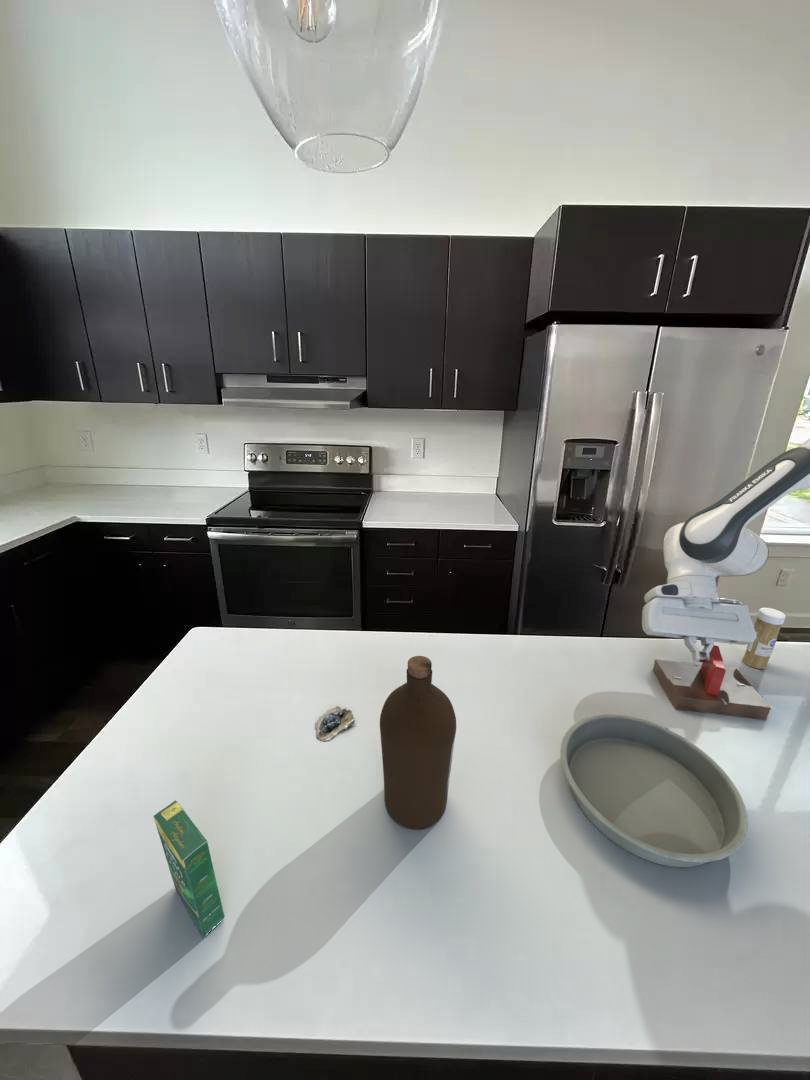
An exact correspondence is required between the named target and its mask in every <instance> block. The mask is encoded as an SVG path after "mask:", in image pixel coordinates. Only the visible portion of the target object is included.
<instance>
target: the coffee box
mask: <svg viewBox="0 0 810 1080" xmlns="http://www.w3.org/2000/svg"><path fill="white" fill-rule="evenodd" d="M153 820H154V824H155V826H156V830H157V833H158V835H159V836H158V837H159V840H160V843H161V846H162V849H163V852H164V856H165V859H166V862H167V866H168V869H169V872H170V875H171V879H172V882H173V886H174V888H176V889H175V891H176V893H177V892H178V893H177V895H178V897H179V898H180V900H181V902H182V904H183V906H184V908H185V909H186V911H187V913H188V914H189V916H190V918H191V919H192V921H193V923H194V925H195V927H196V926H197V927H196V928H197V930H198V931H199V934H200V935H201V937H202V938H203V937H204V938H206V937H207V936H206V934H207V933H208V932H209V931H210V930H211V929H212V928H213V927H214V926H216V925H217V924H218V923H219V922H220V921H221V920H222V919H223V918H224V917H225V918H226V916H225V912H224V908H223V903H222V900H221V894H220V891H219V888H218V883H217V878H216V874H215V869H214V865H213V861H212V857H211V852H210V847H209V843H208V840H207V838H206V837H205V836H204V835H203V833H202V832H201V831H200V830H199V828H198V827H197V826H196V824H195V823H194V822H193V820H192V819H191V817H189V815H188V813H187V812H186V811H185V810H184V809H183V807H182V806H181V804H180V803H179V802H178V801H177V800H173V802H171V803H170V804H168V805H167V806H166V807H164V808H163V809H161V810H159V811H158V812H156V813H155V814H154V815H153ZM225 918H224V919H225ZM224 919H223V920H224ZM223 920H222V921H223ZM205 936H206V937H205Z"/></svg>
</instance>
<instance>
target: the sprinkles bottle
mask: <svg viewBox="0 0 810 1080" xmlns="http://www.w3.org/2000/svg"><path fill="white" fill-rule="evenodd" d="M756 614H757V615H756V620H755V623H754V625H753V626H754V629H755V632H756V639H755V641H754V642H752V643H750V644H746V650H745V652H744V656H743V657H742V661H743V663H744V664H745V665H747V666H749V667H751V668H754V669H757V670H758V669H759V670H764V669H767V668H768V663H769V661H770V658H771V656H772V654H773V651H774V649H775V645H776V644H777V639H778V637H779V634H780V630H781V628H782V626H783V625H784V623H785V620H786V617H787V616H786V614H785V613H784V612H782V611H780V610H778V609H775V608H771V607H761V608H759V609H758V611H757V613H756Z"/></svg>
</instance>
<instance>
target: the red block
mask: <svg viewBox="0 0 810 1080" xmlns="http://www.w3.org/2000/svg"><path fill="white" fill-rule="evenodd" d="M709 655H710V662H707V663H704V662H701V664H702V666H701V670H702V675H703V679H704V684H705V688H706V693H707V694H711V695H715V696H718V693H719V690H720V687H721V684H722V681H723V678H724V675H725V672H726V669H725V667H726V666H725V663H724V659H723V656H722V653H721V650H720V647H719V645H715V644H714V646H713V648H712V650H711V651H710V653H709Z"/></svg>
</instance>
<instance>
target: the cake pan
mask: <svg viewBox="0 0 810 1080" xmlns="http://www.w3.org/2000/svg"><path fill="white" fill-rule="evenodd" d="M560 762H561V766H562V771H563V772H564V776H565V778H566V780H567V782H568V784H569V788H570V790H571V793H572V795H573V798H574V800H575V801H576V803H577V805H578V807H579V808H580V810H581V811H582V812H583V814H584V815H585V817H586V818H587V819H588V820H589V821H590V822H591V823H592V824H593V826H594V827H595V828H596V829H597V830H599V831H600V832H601V833H602V834H603V835H604V836H605V837H607V838H608V839H609V840H610V841H611V842H613V843H614V844H615V845H617V846H619V847H621V849H624V850H625V851H627V852H629V853H630V854H633V855H634V856H637V857H639V858H641V859H643V860H646V861H649V862H652V863H654V864H658V865H661V866H666V867H672V868H673V867H674V868H694V867H697V866H702V865H704V864H707V863H710V862H715V861H720V860H723V859H725V858H727V857H730V856H731V855H733V854H734V853H735V852H737V851H738V850H739V849H740V848H741V847H742V846H743V844H744V842H745V840H746V837H747V835H748V831H749V816H748V812H747V808H746V805H745V802H744V800H743V797H742V796H741V793H740V791H739V789H738V788H737V787H736V785H735V783H734V782H733V780H731V778H730V776H729V775H728V773H726V772H725V770H724V769H723V768H722V767H721V766H720V765H719V764H718V763H717V762H716V761H715V760H714V759H713V758H712V757H710V755H708V754H707V753H706V752H705V751H704V750H702V749H701V748H700V747H698V746H697V745H695V744H694V743H693V742H691V741H690V740H688V739H687V738H685V737H683V736H682V735H680V734H678V733H676V732H674V731H673V730H671V729H668V728H666V727H664V726H662V725H660V724H657V723H654V722H651V721H649V720H647V719H642V718H638V717H635V716H630V715H625V714H624V715H623V714H613V713H612V714H611V713H608V714H607V713H606V714H605V713H604V714H596V715H591V716H588V717H584V718H582V719H581V720H578V721H577V722H575V723H574V724H573V725H571V726H570V727H569V728H568V730H567V731H566V732H565V734H564V736H563V738H562V740H561V744H560Z"/></svg>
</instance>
